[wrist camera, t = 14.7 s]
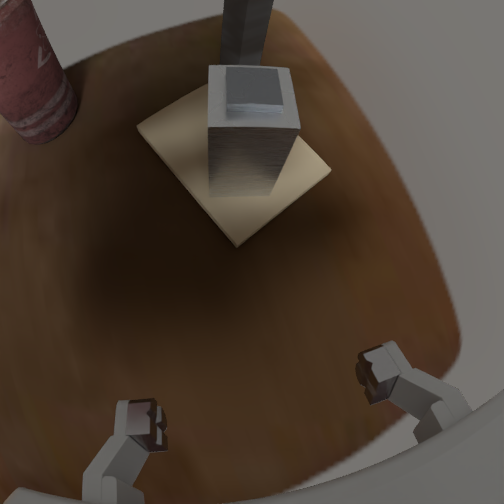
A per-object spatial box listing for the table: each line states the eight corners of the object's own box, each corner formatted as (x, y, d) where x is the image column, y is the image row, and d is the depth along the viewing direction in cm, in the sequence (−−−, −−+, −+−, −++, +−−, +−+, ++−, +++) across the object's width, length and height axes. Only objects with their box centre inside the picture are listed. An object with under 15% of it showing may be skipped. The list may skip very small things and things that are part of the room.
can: (43, 92, 21) (-12, -7, 7) (91, 94, 21) (41, -28, 7) (13, 144, 19) (-67, 52, 6) (58, 150, 20) (-26, 33, 6)
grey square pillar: (209, 197, 19) (207, 118, 11) (208, 145, 20) (209, 56, 12) (269, 196, 20) (304, 120, 12) (264, 145, 21) (291, 60, 12)
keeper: (130, 122, 21) (90, 2, 9) (234, 64, 23) (248, -48, 12) (236, 248, 20) (267, 156, 8) (341, 164, 22) (424, 61, 10)
